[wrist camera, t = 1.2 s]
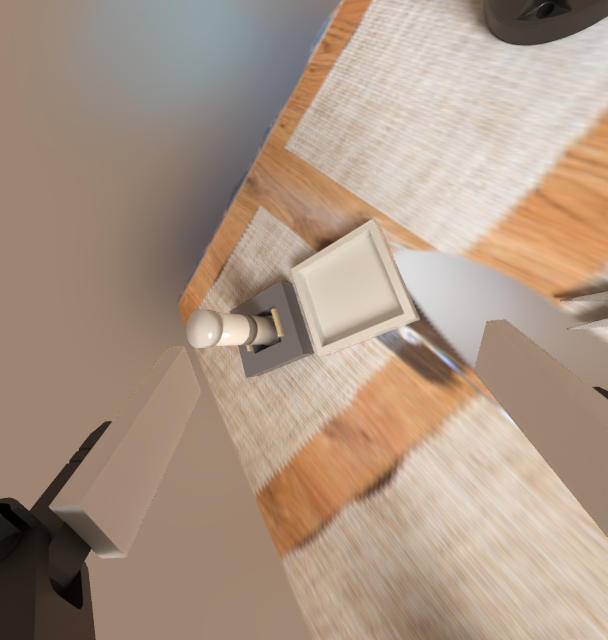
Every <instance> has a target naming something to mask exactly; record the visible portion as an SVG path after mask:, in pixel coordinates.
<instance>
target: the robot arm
mask: <svg viewBox="0 0 608 640" xmlns="http://www.w3.org/2000/svg"><path fill="white" fill-rule="evenodd" d="M484 15H485V20H486V23H487V25H488V27H489V29H490V30H491V31H492V33H493V34H494V35H496V36H497V37H498V38H500V39H502V40H504V41H506V42H510V43H514V44H521V45H531V44H541V43H546V42H550V41H554V40H558V39H561V38H564V37H567V36H570V35H572V34H575V33H577V32H579V31H581V30H584V29H586V28H588V27H590V26H592V25H593V24H595V23H597V22H599V21H600V20H602V19H604V18H605V17H607V16H608V0H484ZM474 373H475V374H476V375H477V376H478V378H479V379H480V380H481V381H482V383H483V384H484V385H485V386H486V388H487V389H488V390H489V391H490V393H491V394H492V395H493V396H494V397H495V399H496V400H497V401H498V402H499V404H500V405H501V406H502V407H503V409H504V410H505V411H506V412H507V414H508V415H509V416H510V417H511V419H512V420H513V421H514V422H515V424H516V425H517V426H518V427H519V428H520V430H521V431H522V432H523V433H524V435H525V436H526V437H527V438H528V440H529V441H530V442H531V443H532V445H533V446H534V447H535V448H536V450H537V451H538V452H539V453H540V454H541V456H542V457H543V458H544V459H545V461H546V462H547V463H548V464H549V466H550V467H551V468H552V469H553V471H554V472H555V473H556V474H557V476H558V477H559V478H560V479H561V481H562V482H563V483H564V484H565V485H566V487H567V488H568V489H569V490H570V492H571V493H572V494H573V495H574V497H575V498H576V499H577V500H578V502H579V503H580V504H581V505H582V507H583V508H584V509H585V510H586V512H587V513H588V514H589V515H590V516H591V518H592V519H593V520H594V521H595V523H596V524H597V525H598V526H599V528H600V529H601V530H602V531H603V533H604V534H605V535H606V536H607V537H608V391H606V390H604V389H602V388H600V387H591V386H590V385H589V384H587V383H586V382H585V381H583V380H582V379H581V378H580V377H578V376H577V375H576V374H574V373H573V372H572V371H571V370H569V369H568V368H567V367H565V366H564V365H563V364H562V363H560V362H559V361H558V360H557V359H555V358H554V357H552V356H551V355H550V354H549V353H548V352H546V351H545V350H544V349H543V348H541V347H540V346H539V345H537V344H536V343H535V342H534V341H532V340H531V339H530V338H528V337H527V336H526V335H525V334H523V333H522V332H521V331H520V330H518V329H517V328H515V327H514V326H513V325H512V324H510V323H509V322H508V321H506V320H494V321H487V322H486V326H485V330H484V334H483V338H482V342H481V346H480V350H479V353H478V357H477V361H476V365H475V369H474ZM200 394H201V389H200V387H199V384H198V381H197V379H196V376H195V373H194V371H193V368H192V366H191V363H190V360H189V358H188V355H187V352H186V350H185V347H184V346H180V347H168V348H167V349H166V350H165V352H164V353H163V354H162V356H161V357H160V358H159V360H158V361H157V362H156V364H155V365H154V366H153V368H152V369H151V370H150V372H149V373H148V374H147V376H146V377H145V379H144V380H143V381H142V382H141V384H140V385H139V386H138V388H137V389H136V390H135V392H134V393H133V394H132V396H131V397H130V398H129V400H128V401H127V403H126V404H125V405H124V407H123V408H122V409H121V410H120V412H119V413H118V414H117V416H116V417H115V419H114V420H113V421H108V422H105V423H103V424H102V425H101V426H100V427H98V428H97V429H96V430H95V431H94V432H92V433H91V434H90V435H89V437H88V438H87V439H86V440H85V442H84V443H83V444H82V445H81V447H80V448H79V451H77V452H76V453H75V454H74V455H73V457H72V458H71V459H70V462H69V464H66V465H65V467H64V468H63V469H62V471H61V472H60V473H59V475H58V476H57V477H56V478H55V479H54V481H53V482H52V483H51V484H50V486H49V487H48V488H47V489H46V491H45V492H44V493H43V494H42V496H41V497H40V498H39V499H38V501H37V502H36V503H35V505H34V506H33V507H32V508H31V510H30V511H28V510H27V509H26V508H25V507H24V506H23V505H22V504H20V503H19V502H18V501H17V500H15V499H13V498H10V497H9V498H3V499H0V640H96V639H95V630H94V620H93V610H92V601H91V592H90V582H89V573H88V567H87V565H86V563H85V562H84V561H85V559H86V557H87V555H88V553H89V552H90V550H91V549H92V550H93V551H94V552H95V553H96V554H97V555H98V556H99V557H100V558H118V557H127V555H128V552H129V550H130V548H131V546H132V544H133V541H134V539H135V537H136V535H137V533H138V530H139V528H140V526H141V524H142V522H143V520H144V517H145V515H146V513H147V511H148V508H149V506H150V504H151V502H152V500H153V497H154V495H155V493H156V491H157V489H158V486H159V484H160V482H161V480H162V477H163V475H164V473H165V471H166V469H167V467H168V464H169V462H170V460H171V458H172V455H173V453H174V451H175V449H176V447H177V444H178V442H179V440H180V438H181V435H182V434H183V431H184V429H185V427H186V425H187V423H188V420H189V418H190V416H191V414H192V412H193V409H194V407H195V405H196V403H197V401H198V398H199V396H200Z"/></svg>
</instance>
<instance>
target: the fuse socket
mask: <svg viewBox="0 0 608 640" xmlns="http://www.w3.org/2000/svg"><path fill="white" fill-rule="evenodd" d="M230 314H243V315H250V316H259V317H266V316H270V315H273V319H274V322H275V326H276V329H277V333H278V336H279V337H280V338H281V342H279V343H277V344H275V345H273V346H271V347H268V348H265V345H264V344H261V345H238V346H239V350H240V354H241V358H242V362H243V367H244V371H245V375H246V378H248V377H254V376H259V375H262V374H264V373H267V372H269V371H272V370H274V369H277V368H279V367H282V366H284V365H287V364H289V363H292V362H294V361H297V360H299V359H301V358H304V357H306V356H309V355H311V354H314V352H313V348H312V345H311V342H310V339H309V336H308V333H307V329H306V326H305V323H304V320H303V317H302V314H301V311H300V307H299V304H298V301H297V298H296V295H295V292H294V288H293V285H292V284H291V283H288V282H284V281H279V282H277V283H276V284H274V285H272V286H271V287H269V288H267V289H266V290H264V291H262V292H261V293H259V294H258V295H256V296H254V297H253V298H251V299H249V300H248V301H246V302H244V303H243V304H241V305H239V306H238V307H236V308H234V309H233V310H231V311H230Z"/></svg>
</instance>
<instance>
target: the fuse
mask: <svg viewBox="0 0 608 640" xmlns="http://www.w3.org/2000/svg"><path fill="white" fill-rule="evenodd" d="M186 331H187V337H188V340H189V342H190V344H191V345H192V346H194V347H196V348H206V347H214V346H222V345H261V344H264V345H267V346H270V345H275V344H277V343H279V342H281V338H280V337H279V336H278V333H277V329H276V326H275V322H274V319H273V317H272V316H266V317H259V316H250V315H243V314H229V313H219V312H216V311H213V310H204V309H197V310H195V311H193V312H192V313H191V315H190V316H189V319H188V322H187V328H186Z"/></svg>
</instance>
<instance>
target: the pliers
mask: <svg viewBox="0 0 608 640" xmlns="http://www.w3.org/2000/svg"><path fill="white" fill-rule="evenodd" d="M560 301H608V291H605V292H600V293H594V294H589V295H583V296H578V297H573V298H567V299H562V300H560ZM606 326H608V318H605V319H601V320H597V321H594V322H590V323H586V324H582V325H579V326H575V327H571V328H568V330H572V329H583V328H595V327H606Z"/></svg>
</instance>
